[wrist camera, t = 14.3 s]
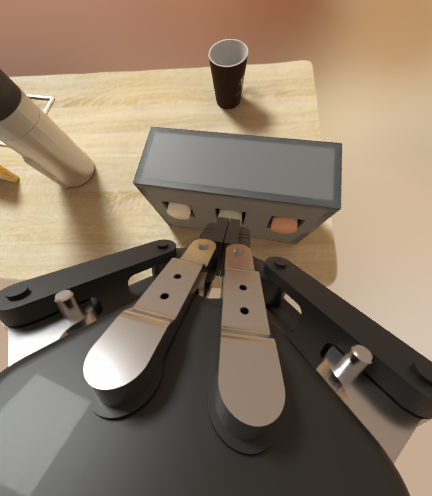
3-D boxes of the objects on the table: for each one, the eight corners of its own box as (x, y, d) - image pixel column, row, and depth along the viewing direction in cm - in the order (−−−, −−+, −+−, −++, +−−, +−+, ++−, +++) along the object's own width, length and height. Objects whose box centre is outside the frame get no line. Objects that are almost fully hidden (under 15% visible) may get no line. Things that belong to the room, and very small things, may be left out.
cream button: (191, 220, 34) (186, 211, 30) (170, 217, 34) (163, 207, 31) (199, 187, 36) (195, 174, 32) (179, 184, 36) (173, 171, 32)
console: (296, 243, 39) (340, 208, 23) (168, 224, 42) (132, 182, 26) (299, 201, 41) (342, 143, 26) (178, 186, 44) (151, 126, 29)
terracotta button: (292, 235, 32) (300, 226, 28) (268, 231, 32) (274, 222, 29) (295, 198, 34) (303, 186, 30) (272, 196, 34) (278, 183, 30)
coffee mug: (229, 117, 48) (230, 72, 39) (205, 102, 50) (200, 55, 41) (258, 90, 50) (265, 41, 40) (234, 76, 52) (235, 26, 42)
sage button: (240, 227, 33) (241, 218, 29) (218, 224, 33) (216, 215, 30) (245, 192, 35) (247, 180, 31) (224, 190, 35) (224, 177, 31)
